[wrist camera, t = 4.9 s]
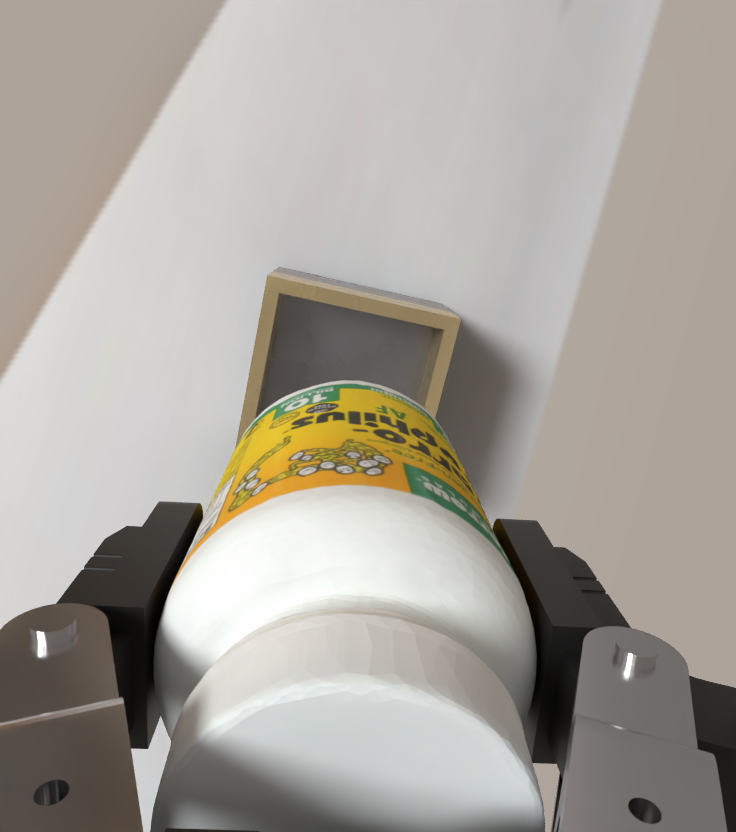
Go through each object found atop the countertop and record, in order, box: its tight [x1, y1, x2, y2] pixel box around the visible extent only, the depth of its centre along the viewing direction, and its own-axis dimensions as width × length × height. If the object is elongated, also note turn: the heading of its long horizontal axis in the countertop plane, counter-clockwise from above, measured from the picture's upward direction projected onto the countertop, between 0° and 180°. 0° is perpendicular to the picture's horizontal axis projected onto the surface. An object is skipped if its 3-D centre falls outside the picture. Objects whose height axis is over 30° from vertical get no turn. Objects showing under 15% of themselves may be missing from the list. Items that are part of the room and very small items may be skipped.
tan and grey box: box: [235, 267, 461, 449], centre depth 28 cm, size 14×7×5 cm, turn 167°
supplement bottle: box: [150, 380, 545, 832], centre depth 11 cm, size 5×5×10 cm
